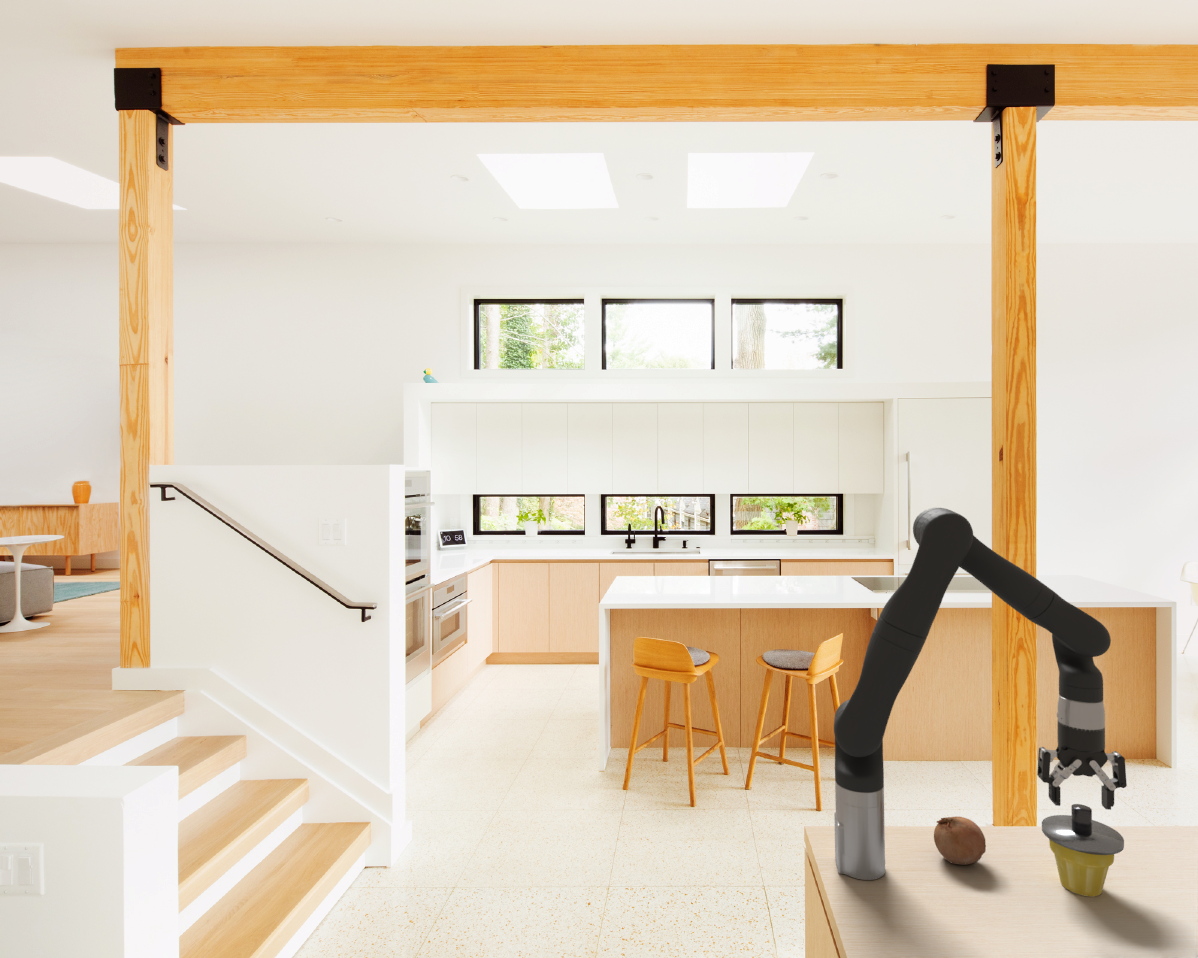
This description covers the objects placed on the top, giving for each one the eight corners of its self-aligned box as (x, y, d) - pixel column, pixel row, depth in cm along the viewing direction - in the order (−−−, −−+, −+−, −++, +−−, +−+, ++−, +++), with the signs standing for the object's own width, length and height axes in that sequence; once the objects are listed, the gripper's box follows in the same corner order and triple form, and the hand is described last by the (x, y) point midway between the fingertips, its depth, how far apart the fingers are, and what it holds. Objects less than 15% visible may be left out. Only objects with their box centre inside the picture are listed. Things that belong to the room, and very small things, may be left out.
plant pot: (1126, 905, 133) (1125, 852, 132) (1063, 900, 135) (1062, 847, 134) (1099, 874, 143) (1098, 824, 143) (1040, 869, 145) (1040, 820, 145)
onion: (942, 877, 148) (918, 832, 149) (954, 846, 155) (931, 804, 155) (989, 877, 142) (964, 831, 142) (999, 845, 148) (975, 801, 149)
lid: (1058, 851, 133) (1058, 821, 133) (1031, 817, 146) (1030, 790, 146) (1138, 857, 131) (1138, 827, 131) (1103, 822, 143) (1103, 794, 143)
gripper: (1047, 725, 136) (1047, 812, 136) (1133, 730, 133) (1133, 818, 133) (1032, 712, 143) (1032, 794, 143) (1113, 716, 140) (1113, 799, 141)
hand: (1081, 805), depth 138 cm, fingers open, 8 cm apart
